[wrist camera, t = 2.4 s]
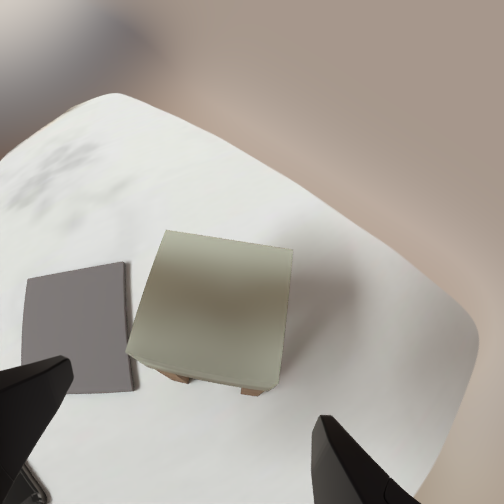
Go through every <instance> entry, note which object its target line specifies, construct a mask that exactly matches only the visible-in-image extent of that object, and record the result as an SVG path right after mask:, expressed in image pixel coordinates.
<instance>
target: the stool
mask: <svg viewBox="0 0 504 504" xmlns="http://www.w3.org/2000/svg"><path fill="white" fill-rule="evenodd" d="M292 255H293V250H292V249H285V248H279V247H273V246H267V245H260V244H254V243H248V242H241V241H235V240H229V239H222V238H216V237H209V236H203V235H196V234H190V233H183V232H177V231H170V230H166V231H165V234H164V236H163V239H162V241H161V244H160V247H159V249H158V252H157V255H156V257H155V260H154V263H153V266H152V269H151V271H150V274H149V277H148V280H147V283H146V286H145V289H144V292H143V295H142V298H141V301H140V304H139V307H138V310H137V314H136V317H135V320H134V323H133V327H132V330H131V333H130V337H129V340H128V344H127V347H126V351H125V353H127V354H128V355H130V356H131V357H133V358H134V359H136V360H137V361H139V362H140V363H142V364H144V365H145V366H147V367H149V368H153V369H155V370H157V371H159V372H160V373H162V374H163V375H165V376H166V377H168V378H170V379H171V380H174V381H178V382H182V383H187V384H188V382H189V378H194V379H198V380H203V381H208V382H213V383H218V384H224V385H229V386H235V387H241V394H244V395H251V396H259V395H260V394H261V393H262V392H264V391H269V390H271V389H272V388H274V387H275V386H277V385H278V383H279V375H280V368H281V360H282V352H283V344H284V335H285V326H286V317H287V308H288V298H289V288H290V277H291V266H292Z"/></svg>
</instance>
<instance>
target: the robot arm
mask: <svg viewBox="0 0 504 504" xmlns="http://www.w3.org/2000/svg"><path fill="white" fill-rule="evenodd" d="M73 379H74V374H73V369H72V364H71V361H70V359H69V358H67V357H65V356H63V355H59V356H55V357H51V358H48V359H44V360H41V361H37V362H33V363H30V364H26V365H22V366H18V367H14V368H10V369H7V370H3V371H0V504H3V502H4V500H5V498H6V496H7V494H8V492H9V490H10V489H11V487H12V485H13V483H14V481H15V479H16V477H17V476H18V474H19V472H20V470H21V469H22V467H23V465H24V463H25V462H26V460H27V458H28V457H29V455H30V453H31V452H32V450H33V448H34V447H35V445H36V443H37V442H38V440H39V439H40V437H41V435H42V434H43V432H44V431H45V429H46V427H47V426H48V424H49V423H50V421H51V420H52V418H53V417H54V415H55V414H56V412H57V410H58V409H59V407H60V405H61V403H62V401H63V399H64V397H65V395H66V393H67V391H68V390H69V388H70V386H71V384H72V382H73ZM311 476H312V485H313V495H314V504H421V503H419V502H418V501H417V500H416V499H414V498H413V497H412V496H410V495H409V494H408V493H407V492H406V491H405V490H403V489H402V488H401V487H400V486H399V485H398V484H397V483H396V482H395V481H394V480H393V479H392V478H390V476H389V475H388V474H387V473H386V472H385V471H384V470H383V469H382V468H381V467H380V466H379V465H378V464H377V463H376V462H375V461H374V460H373V459H372V458H371V457H370V456H369V455H368V454H367V453H366V452H365V451H364V449H363V448H362V447H361V446H360V445H359V444H358V443H357V442H356V441H355V440H354V439H353V438H352V437H351V436H350V435H349V433H348V432H347V431H346V430H345V429H344V428H343V427H342V426H341V425H340V424H339V423H338V422H337V420H336V419H335V418H334V417H333V416H331V415H320V416H319V417H318V420H317V422H316V424H315V427H314V429H313V432H312V455H311Z"/></svg>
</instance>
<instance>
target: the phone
mask: <svg viewBox="0 0 504 504" xmlns="http://www.w3.org/2000/svg"><path fill="white" fill-rule="evenodd" d="M46 502H47V498H46V495H45V493H44V491H43V490H42V488H41V487H40V486H39V484H38V483H37V481H36V480H35V479H34V477H33V476H32V474H31V473H30V471H29V470H28V468H27V467H26V465H25V464H24V465H23V467H22V469H21V470H20V472H19V474H18V476H17V477H16V479H15V481H14V483H13V485H12V487H11V489H10V490H9V492H8V494H7V496H6V498H5V500H4V502H3V504H46Z"/></svg>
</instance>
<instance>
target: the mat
mask: <svg viewBox="0 0 504 504" xmlns="http://www.w3.org/2000/svg"><path fill="white" fill-rule="evenodd" d="M127 344H128V332H127V318H126V297H125V264H124V262H117V263H112V264H106V265H101V266H95V267H89V268H84V269H79V270H73V271H68V272H62V273H57V274H52V275H46V276H41V277H36V278H30V279H28V280H27V287H26V294H25V303H24V313H23V326H22V348H21V366H22V365H26V364H30V363H33V362H37V361H41V360H44V359H48V358H51V357H55V356H59V355H63V356H65V357H67V358H69V359H70V361H71V364H72V369H73V374H74V379H73V382H72V384H71V386H70V388H69V390H68V391H67V393H66V394H91V393H114V392H128V391H134V386H133V379H132V372H131V363H130V355H128V354H127V353H125V351H126V347H127Z"/></svg>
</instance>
